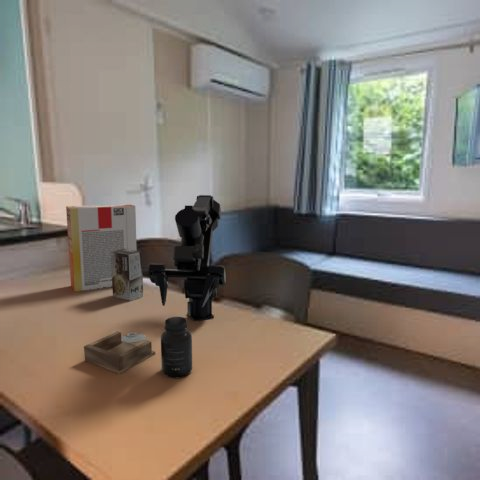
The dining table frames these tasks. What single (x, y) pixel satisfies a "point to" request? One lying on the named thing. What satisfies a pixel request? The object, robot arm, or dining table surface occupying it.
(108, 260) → the pasta box
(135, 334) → the mounting bracket
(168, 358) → the supplement bottle
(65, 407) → the dining table surface
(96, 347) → the walnut well
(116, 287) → the coffee box
